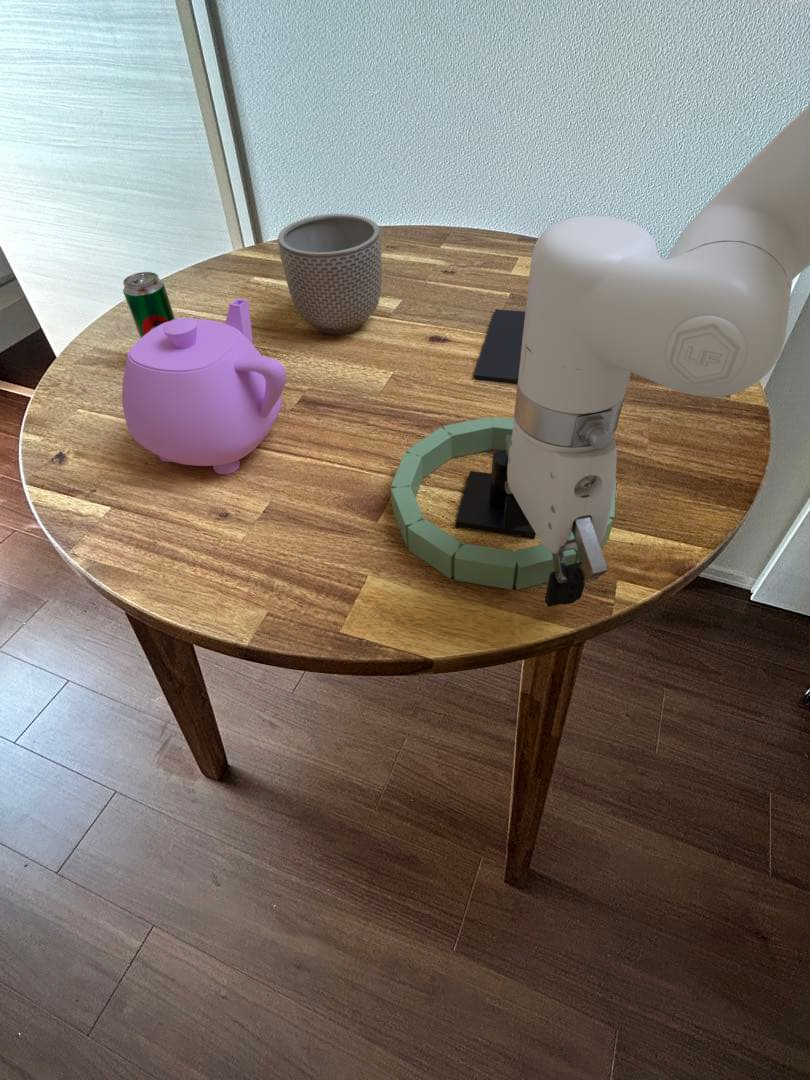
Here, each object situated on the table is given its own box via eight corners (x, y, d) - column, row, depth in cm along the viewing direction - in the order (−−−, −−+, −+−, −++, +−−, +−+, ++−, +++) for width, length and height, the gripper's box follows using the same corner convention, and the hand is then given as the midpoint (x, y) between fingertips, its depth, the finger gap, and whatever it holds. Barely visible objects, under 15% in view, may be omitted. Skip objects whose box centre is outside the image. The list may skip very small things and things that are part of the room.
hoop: (613, 453, 73) (618, 430, 70) (604, 605, 58) (611, 582, 56) (422, 430, 77) (421, 408, 75) (370, 566, 63) (367, 543, 60)
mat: (620, 323, 92) (621, 319, 92) (616, 393, 81) (617, 389, 80) (495, 312, 96) (495, 308, 96) (473, 378, 84) (473, 374, 84)
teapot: (343, 401, 82) (328, 285, 71) (268, 504, 69) (236, 383, 58) (209, 377, 87) (176, 266, 76) (117, 469, 74) (61, 351, 63)
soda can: (195, 359, 90) (169, 275, 82) (169, 377, 88) (139, 291, 79) (170, 350, 92) (142, 267, 84) (143, 367, 89) (111, 283, 81)
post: (543, 485, 69) (550, 437, 65) (534, 538, 64) (542, 490, 59) (469, 476, 71) (471, 427, 66) (455, 526, 66) (456, 478, 61)
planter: (386, 345, 91) (380, 251, 82) (288, 349, 91) (270, 257, 82) (387, 299, 100) (381, 210, 91) (297, 303, 101) (283, 215, 91)
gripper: (679, 469, 42) (622, 624, 54) (563, 338, 53) (539, 491, 66) (572, 492, 41) (540, 646, 53) (477, 354, 52) (469, 507, 65)
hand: (539, 560), depth 60 cm, fingers open, 9 cm apart
